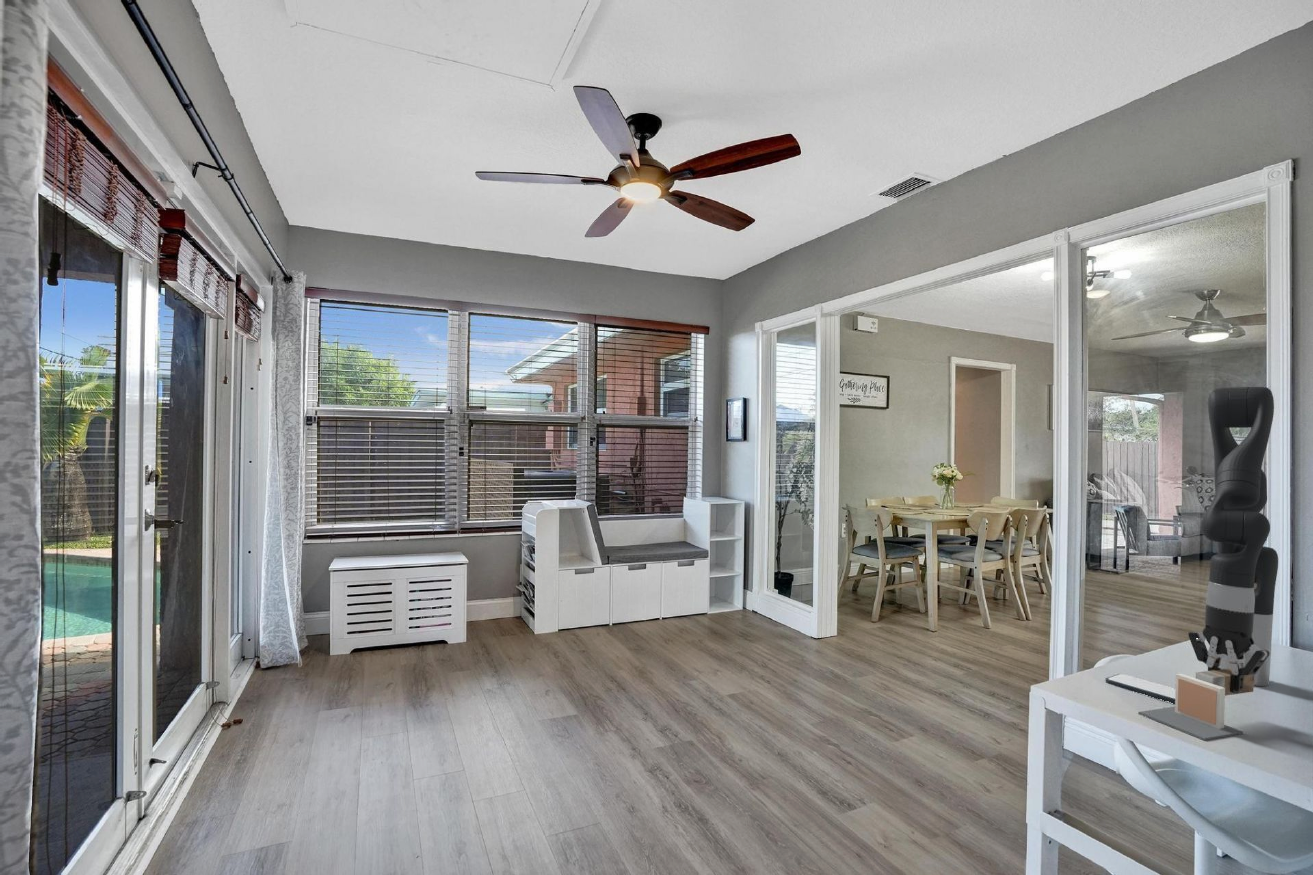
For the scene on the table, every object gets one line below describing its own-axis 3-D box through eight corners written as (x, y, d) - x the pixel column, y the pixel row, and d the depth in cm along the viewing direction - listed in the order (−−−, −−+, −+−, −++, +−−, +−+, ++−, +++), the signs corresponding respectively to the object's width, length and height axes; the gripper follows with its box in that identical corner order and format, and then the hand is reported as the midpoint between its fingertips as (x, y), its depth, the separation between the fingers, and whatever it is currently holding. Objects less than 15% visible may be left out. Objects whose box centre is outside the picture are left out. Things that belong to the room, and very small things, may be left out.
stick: (1236, 686, 140) (1237, 667, 140) (1253, 691, 137) (1254, 672, 137) (1194, 691, 135) (1196, 672, 135) (1211, 697, 132) (1212, 677, 132)
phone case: (1103, 685, 154) (1186, 710, 140) (1103, 678, 154) (1186, 702, 140) (1120, 679, 159) (1202, 702, 145) (1120, 672, 159) (1202, 695, 145)
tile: (1179, 710, 137) (1180, 673, 137) (1224, 727, 130) (1225, 687, 130) (1174, 712, 137) (1175, 674, 136) (1218, 729, 129) (1219, 689, 129)
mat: (1175, 708, 140) (1176, 706, 140) (1242, 733, 129) (1243, 731, 129) (1138, 713, 136) (1138, 711, 136) (1204, 740, 125) (1204, 738, 125)
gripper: (1282, 614, 131) (1277, 700, 131) (1202, 596, 144) (1197, 675, 144) (1260, 616, 128) (1254, 704, 128) (1180, 597, 141) (1175, 677, 141)
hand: (1224, 688), depth 136 cm, fingers closed on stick, 3 cm apart
